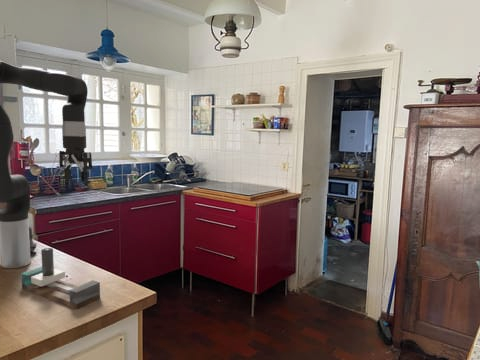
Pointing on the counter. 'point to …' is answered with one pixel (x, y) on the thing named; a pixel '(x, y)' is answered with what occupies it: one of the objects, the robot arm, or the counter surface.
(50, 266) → the carriage
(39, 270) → the rail
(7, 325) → the counter surface
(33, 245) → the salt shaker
